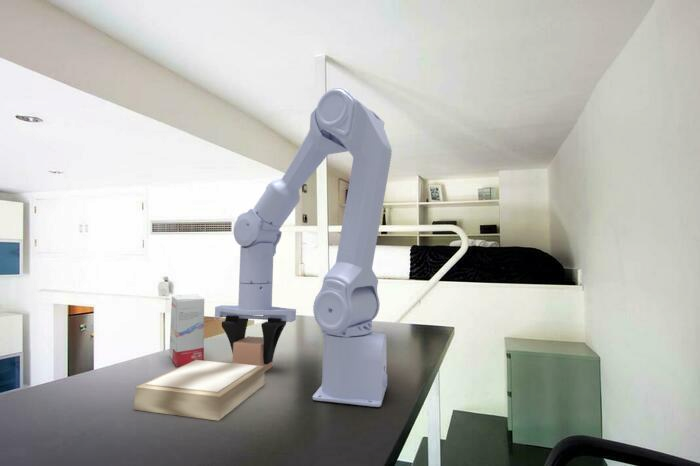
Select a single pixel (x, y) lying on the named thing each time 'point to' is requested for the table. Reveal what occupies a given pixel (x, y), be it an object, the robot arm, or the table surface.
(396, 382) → the table surface
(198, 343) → the ink box
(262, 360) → the terracotta cube
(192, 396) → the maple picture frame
